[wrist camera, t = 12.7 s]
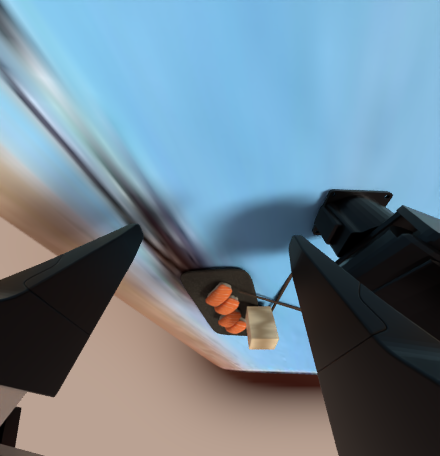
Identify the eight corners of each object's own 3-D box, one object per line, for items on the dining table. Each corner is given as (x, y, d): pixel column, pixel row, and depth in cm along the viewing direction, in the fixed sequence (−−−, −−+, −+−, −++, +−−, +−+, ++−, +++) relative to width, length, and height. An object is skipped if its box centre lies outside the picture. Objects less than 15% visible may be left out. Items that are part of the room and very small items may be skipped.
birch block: (270, 306, 34) (279, 338, 29) (266, 318, 36) (274, 349, 31) (247, 306, 34) (251, 338, 29) (245, 318, 36) (249, 349, 31)
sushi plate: (178, 265, 32) (171, 281, 29) (348, 252, 25) (362, 272, 22) (216, 327, 49) (214, 342, 46) (326, 331, 41) (333, 349, 38)
